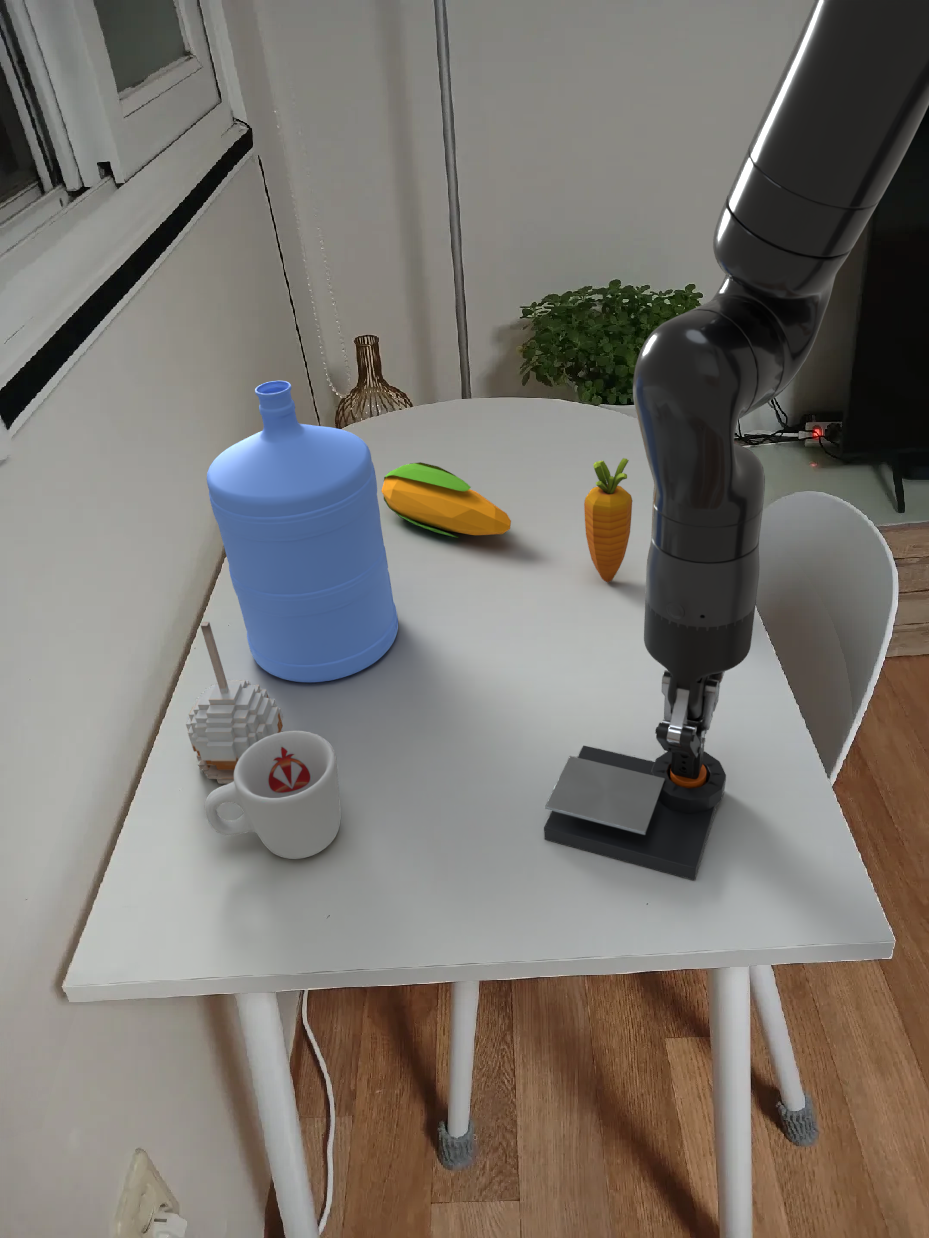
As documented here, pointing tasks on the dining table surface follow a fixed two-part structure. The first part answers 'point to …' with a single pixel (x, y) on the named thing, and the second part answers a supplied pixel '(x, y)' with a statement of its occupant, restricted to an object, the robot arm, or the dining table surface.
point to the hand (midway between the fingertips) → (686, 770)
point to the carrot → (608, 520)
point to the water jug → (304, 544)
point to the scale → (672, 826)
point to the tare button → (690, 782)
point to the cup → (283, 794)
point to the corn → (441, 501)
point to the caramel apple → (228, 719)
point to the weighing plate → (606, 794)
